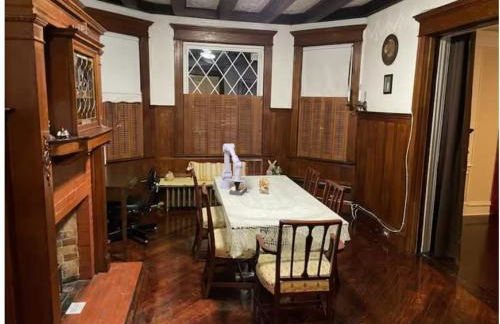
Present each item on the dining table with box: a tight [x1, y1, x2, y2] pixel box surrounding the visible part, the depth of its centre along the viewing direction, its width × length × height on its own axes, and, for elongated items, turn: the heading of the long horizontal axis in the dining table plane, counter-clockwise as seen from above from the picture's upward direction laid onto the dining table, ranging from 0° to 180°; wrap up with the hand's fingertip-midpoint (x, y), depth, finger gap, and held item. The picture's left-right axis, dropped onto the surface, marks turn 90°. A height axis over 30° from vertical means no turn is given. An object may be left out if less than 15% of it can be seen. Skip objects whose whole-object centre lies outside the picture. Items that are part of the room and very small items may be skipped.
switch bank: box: [228, 186, 248, 197], centre depth 343 cm, size 11×21×3 cm, turn 166°
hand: (237, 189), depth 336 cm, fingers closed
